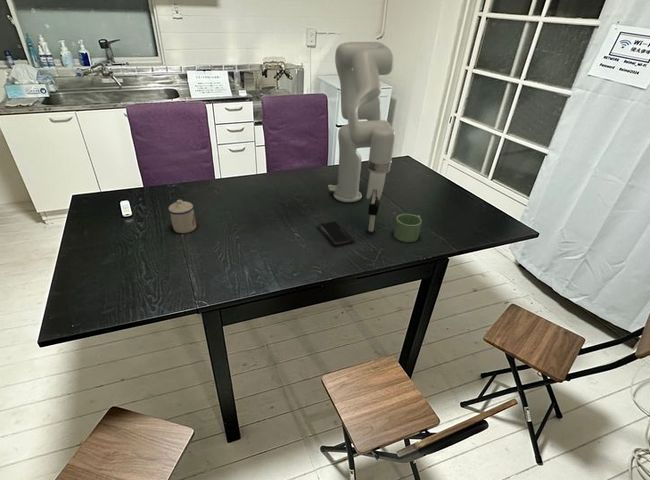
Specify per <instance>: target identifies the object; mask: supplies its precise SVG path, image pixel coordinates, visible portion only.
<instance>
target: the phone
mask: <svg viewBox="0 0 650 480" xmlns="http://www.w3.org/2000/svg"><path fill="white" fill-rule="evenodd" d="M318 228H319V230H320V231H321V233H322V234H323V235H324V236H325V237H326V239H327V240H328V241H329V242H330V244H331V245H332V246H335V247H337V246H338V247H339V246H342V245H347V244H352V242H353V238H352V236H351V235H350V234H349V233H348V232H347V231H346V230H345V228H343V227H342V226H341V224H340V223H339V222H338V221H336V220H333V221H329V222H328V221H327V222H323V223H319V224H318Z"/></svg>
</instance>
